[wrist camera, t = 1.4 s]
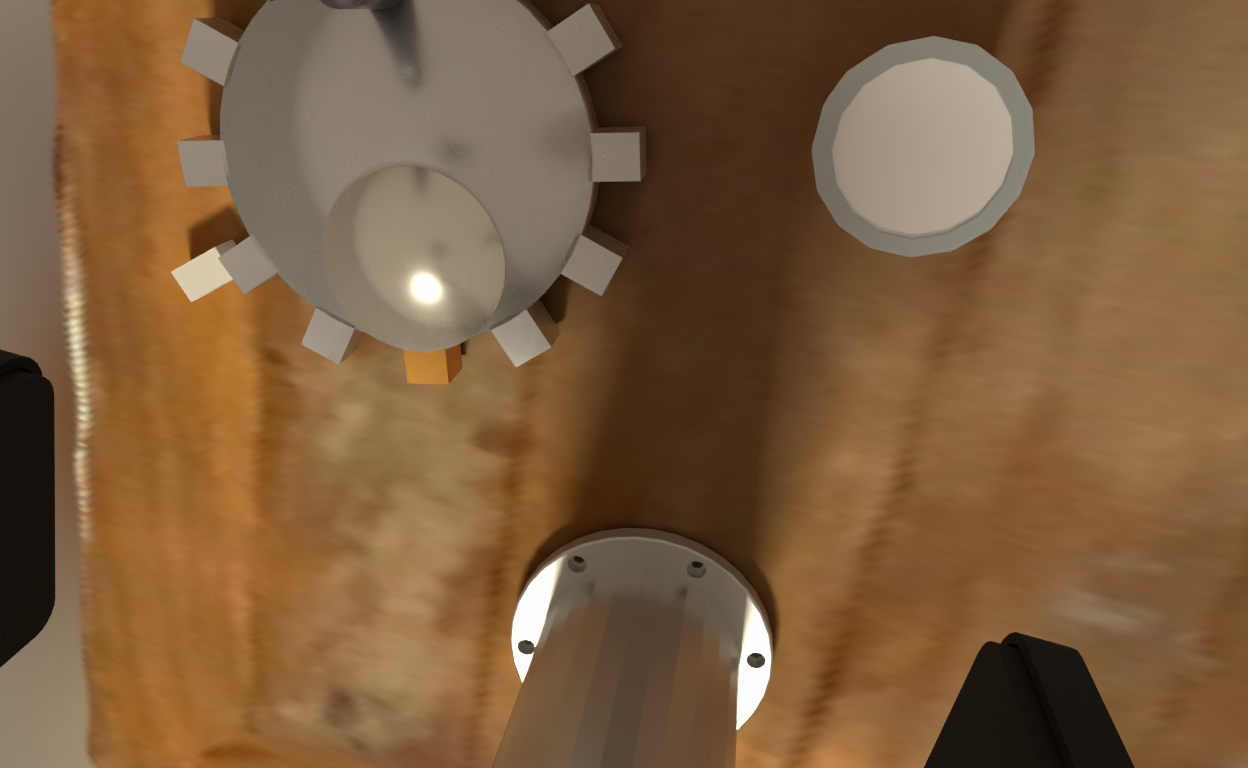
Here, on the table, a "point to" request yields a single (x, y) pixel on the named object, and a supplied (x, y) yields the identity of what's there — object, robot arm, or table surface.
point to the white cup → (923, 146)
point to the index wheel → (414, 167)
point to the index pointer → (204, 272)
